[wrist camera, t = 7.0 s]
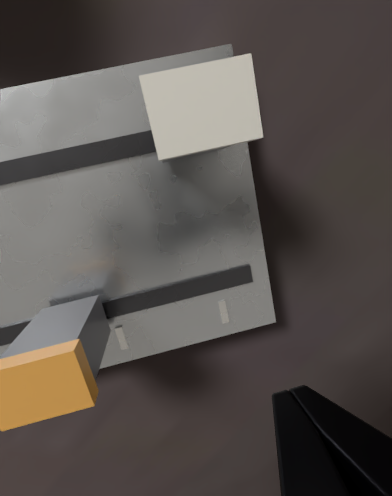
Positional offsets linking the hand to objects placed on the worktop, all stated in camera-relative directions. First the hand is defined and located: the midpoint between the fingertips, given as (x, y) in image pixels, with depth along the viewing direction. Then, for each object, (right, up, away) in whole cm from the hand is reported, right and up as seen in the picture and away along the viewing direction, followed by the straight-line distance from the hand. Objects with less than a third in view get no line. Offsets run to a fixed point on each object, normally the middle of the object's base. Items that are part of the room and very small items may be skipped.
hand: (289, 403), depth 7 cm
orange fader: (-9, 0, +9) cm, 12 cm away
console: (-9, +4, +10) cm, 14 cm away
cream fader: (-3, +9, +7) cm, 12 cm away
